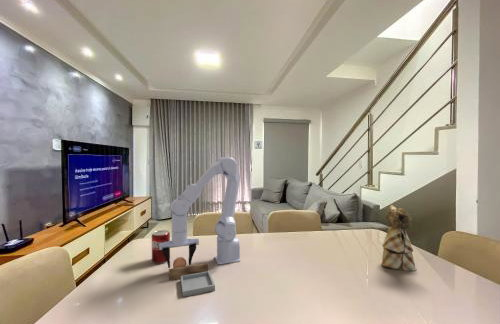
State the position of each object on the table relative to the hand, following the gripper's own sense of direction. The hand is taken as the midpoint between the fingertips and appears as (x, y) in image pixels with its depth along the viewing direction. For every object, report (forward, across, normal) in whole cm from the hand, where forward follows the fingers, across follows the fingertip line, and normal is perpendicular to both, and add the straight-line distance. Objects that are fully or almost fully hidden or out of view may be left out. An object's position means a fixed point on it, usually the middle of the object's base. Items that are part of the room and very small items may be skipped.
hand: (179, 265), depth 87 cm
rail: (+2, -3, +6) cm, 7 cm away
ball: (+2, 0, 0) cm, 2 cm away
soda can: (+2, +7, -12) cm, 14 cm away
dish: (+2, -5, +13) cm, 14 cm away
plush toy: (+2, -84, +27) cm, 88 cm away
